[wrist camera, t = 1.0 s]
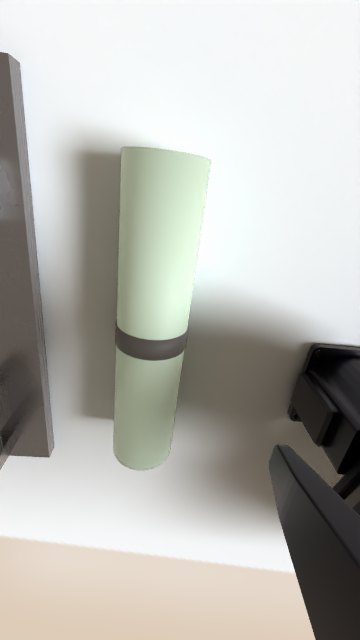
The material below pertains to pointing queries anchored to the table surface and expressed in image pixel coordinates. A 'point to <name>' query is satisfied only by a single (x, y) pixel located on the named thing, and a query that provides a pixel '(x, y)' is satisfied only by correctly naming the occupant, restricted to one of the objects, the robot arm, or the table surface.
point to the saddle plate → (19, 288)
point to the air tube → (154, 295)
